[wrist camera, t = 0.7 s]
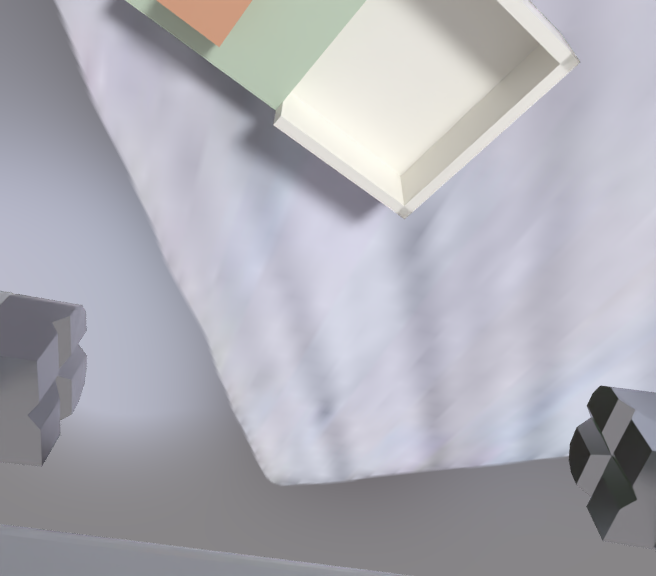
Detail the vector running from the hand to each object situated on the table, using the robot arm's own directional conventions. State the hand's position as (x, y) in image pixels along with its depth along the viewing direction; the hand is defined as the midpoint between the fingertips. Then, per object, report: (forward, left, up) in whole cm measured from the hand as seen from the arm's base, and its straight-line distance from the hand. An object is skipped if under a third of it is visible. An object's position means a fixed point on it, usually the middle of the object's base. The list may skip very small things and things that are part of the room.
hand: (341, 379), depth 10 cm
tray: (+6, +13, -43) cm, 46 cm away
